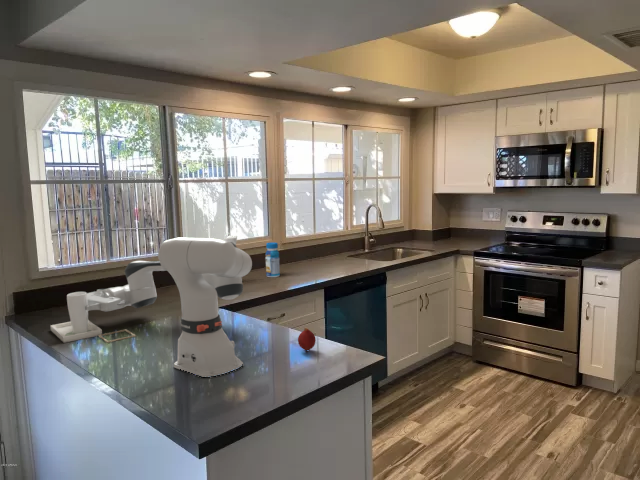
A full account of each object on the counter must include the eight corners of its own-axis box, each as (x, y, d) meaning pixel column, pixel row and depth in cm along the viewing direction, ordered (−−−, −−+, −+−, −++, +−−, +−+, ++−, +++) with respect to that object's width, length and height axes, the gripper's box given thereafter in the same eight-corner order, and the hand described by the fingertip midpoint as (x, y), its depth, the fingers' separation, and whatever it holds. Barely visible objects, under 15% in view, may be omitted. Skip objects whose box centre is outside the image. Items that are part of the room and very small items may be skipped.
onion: (306, 346, 160) (305, 323, 159) (319, 350, 157) (319, 327, 156) (294, 351, 156) (294, 328, 155) (307, 355, 152) (307, 331, 151)
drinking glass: (68, 336, 174) (64, 296, 172) (73, 330, 181) (69, 292, 178) (88, 334, 176) (84, 295, 174) (92, 328, 182) (88, 290, 180)
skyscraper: (222, 281, 269) (220, 233, 266) (236, 280, 273) (234, 232, 269) (226, 284, 262) (224, 234, 258) (240, 283, 265) (238, 233, 262)
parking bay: (136, 336, 175) (135, 335, 175) (107, 342, 168) (107, 341, 168) (126, 330, 182) (126, 329, 182) (98, 336, 176) (98, 335, 176)
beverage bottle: (277, 277, 278) (276, 244, 276) (264, 277, 280) (262, 243, 277) (281, 274, 286) (280, 242, 284) (268, 274, 288) (267, 242, 286)
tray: (102, 334, 177) (101, 329, 177) (63, 342, 169) (63, 337, 169) (86, 323, 192) (86, 318, 192) (50, 330, 184) (50, 325, 184)
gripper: (129, 310, 183) (95, 318, 172) (99, 303, 195) (65, 311, 183) (128, 294, 183) (94, 302, 171) (97, 288, 194) (64, 295, 183)
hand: (79, 306), depth 177 cm, fingers open, 8 cm apart
